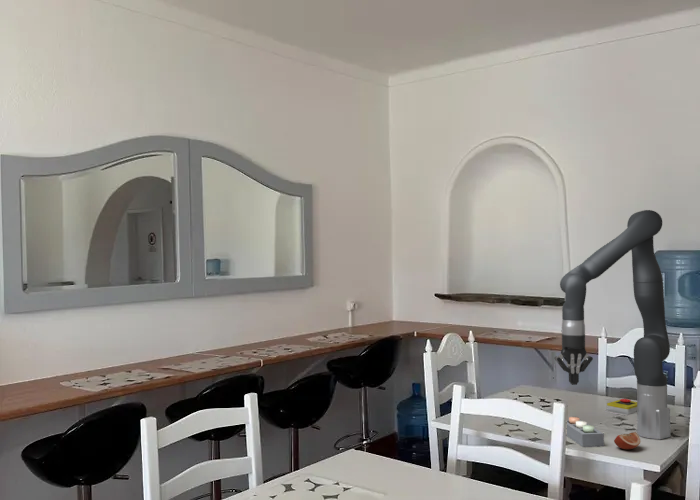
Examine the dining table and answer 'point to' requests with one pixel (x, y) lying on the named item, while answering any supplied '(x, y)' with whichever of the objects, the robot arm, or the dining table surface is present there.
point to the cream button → (580, 424)
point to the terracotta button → (573, 420)
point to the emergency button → (622, 407)
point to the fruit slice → (627, 440)
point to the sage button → (588, 429)
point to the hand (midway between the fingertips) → (573, 384)
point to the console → (585, 436)
